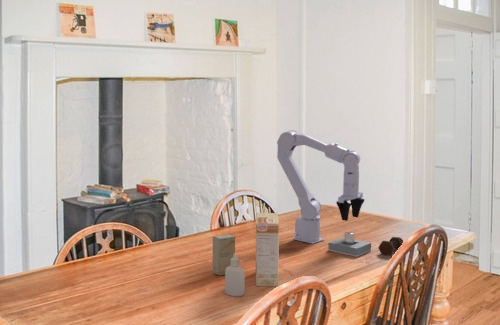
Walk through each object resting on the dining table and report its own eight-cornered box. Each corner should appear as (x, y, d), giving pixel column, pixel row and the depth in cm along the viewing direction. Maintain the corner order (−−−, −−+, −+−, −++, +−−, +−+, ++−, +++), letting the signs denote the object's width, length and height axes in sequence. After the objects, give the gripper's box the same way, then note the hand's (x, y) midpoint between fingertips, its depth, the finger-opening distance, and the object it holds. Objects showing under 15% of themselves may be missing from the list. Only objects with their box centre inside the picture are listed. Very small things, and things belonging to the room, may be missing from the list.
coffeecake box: (256, 270, 188) (256, 212, 186) (277, 270, 188) (278, 212, 186) (255, 286, 174) (255, 223, 171) (278, 286, 173) (279, 223, 171)
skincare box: (219, 276, 183) (219, 238, 181) (212, 272, 186) (211, 235, 185) (235, 272, 186) (235, 236, 185) (228, 269, 190) (228, 233, 188)
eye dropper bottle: (236, 290, 170) (236, 250, 169) (246, 295, 166) (246, 255, 164) (223, 292, 168) (223, 252, 167) (233, 298, 163) (232, 257, 162)
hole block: (328, 250, 212) (328, 242, 211) (342, 244, 219) (343, 237, 219) (356, 256, 204) (356, 248, 204) (370, 250, 211) (371, 242, 211)
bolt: (400, 251, 219) (387, 259, 206) (390, 242, 221) (375, 250, 208) (409, 239, 216) (395, 246, 204) (397, 230, 219) (384, 238, 206)
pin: (343, 249, 211) (343, 233, 210) (346, 247, 214) (347, 231, 213) (352, 251, 209) (352, 235, 208) (355, 248, 212) (356, 232, 211)
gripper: (349, 187, 210) (349, 223, 212) (370, 182, 221) (369, 216, 222) (333, 184, 214) (332, 220, 216) (354, 180, 225) (353, 214, 227)
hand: (350, 218), depth 220 cm, fingers open, 7 cm apart
